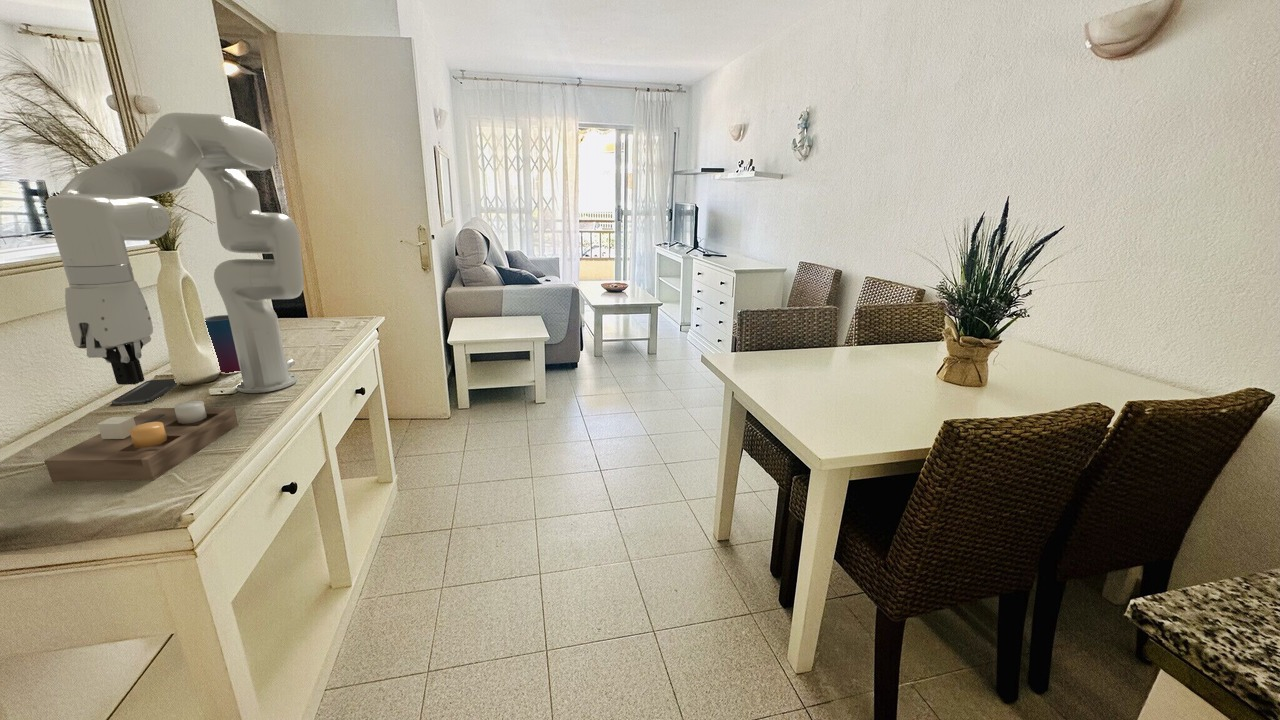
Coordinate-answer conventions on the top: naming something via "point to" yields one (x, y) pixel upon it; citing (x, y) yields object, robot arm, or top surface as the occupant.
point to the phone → (146, 392)
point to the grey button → (190, 412)
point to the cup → (223, 342)
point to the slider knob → (116, 427)
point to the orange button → (148, 434)
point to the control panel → (140, 449)
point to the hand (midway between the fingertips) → (131, 382)
